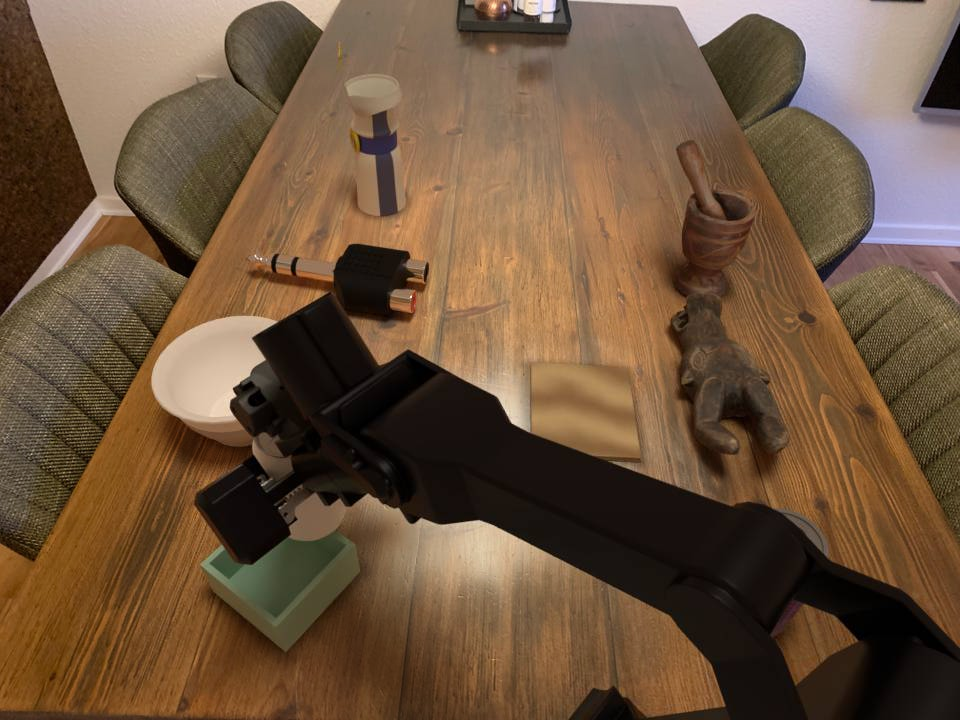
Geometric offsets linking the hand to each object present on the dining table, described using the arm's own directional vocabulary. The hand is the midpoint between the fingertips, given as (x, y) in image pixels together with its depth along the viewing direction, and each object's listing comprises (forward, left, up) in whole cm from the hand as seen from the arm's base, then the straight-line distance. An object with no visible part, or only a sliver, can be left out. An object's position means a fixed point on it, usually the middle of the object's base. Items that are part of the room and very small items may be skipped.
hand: (290, 460), depth 61 cm
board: (+6, -33, -13) cm, 36 cm away
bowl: (+18, +4, -13) cm, 23 cm away
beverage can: (-21, -37, -13) cm, 44 cm away
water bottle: (+56, -22, -13) cm, 62 cm away
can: (-1, -1, -7) cm, 7 cm away
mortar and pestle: (+23, -58, -13) cm, 64 cm away
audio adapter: (+38, -10, -13) cm, 42 cm away
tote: (-4, +3, -13) cm, 14 cm away
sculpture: (+3, -50, -13) cm, 52 cm away
